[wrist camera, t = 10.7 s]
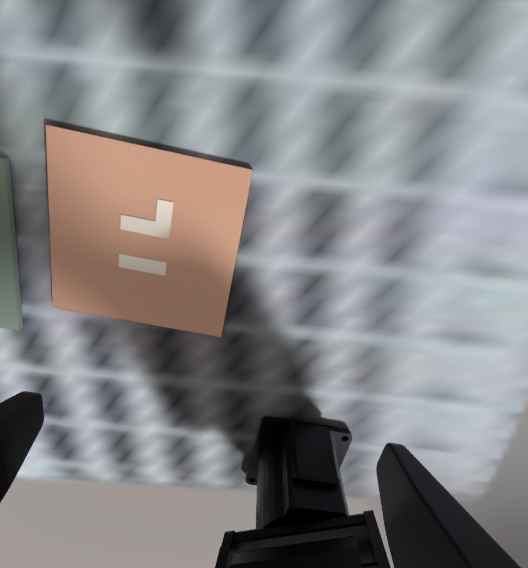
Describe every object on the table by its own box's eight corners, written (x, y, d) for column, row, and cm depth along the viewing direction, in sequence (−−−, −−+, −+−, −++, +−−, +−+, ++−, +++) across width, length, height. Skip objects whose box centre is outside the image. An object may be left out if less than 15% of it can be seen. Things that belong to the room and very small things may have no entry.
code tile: (221, 334, 22) (221, 337, 22) (55, 304, 21) (52, 307, 21) (252, 169, 18) (252, 170, 18) (49, 124, 17) (44, 124, 17)
